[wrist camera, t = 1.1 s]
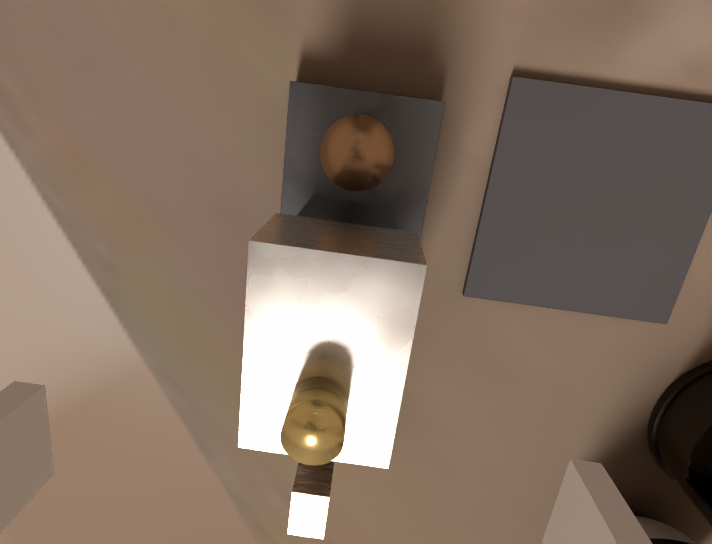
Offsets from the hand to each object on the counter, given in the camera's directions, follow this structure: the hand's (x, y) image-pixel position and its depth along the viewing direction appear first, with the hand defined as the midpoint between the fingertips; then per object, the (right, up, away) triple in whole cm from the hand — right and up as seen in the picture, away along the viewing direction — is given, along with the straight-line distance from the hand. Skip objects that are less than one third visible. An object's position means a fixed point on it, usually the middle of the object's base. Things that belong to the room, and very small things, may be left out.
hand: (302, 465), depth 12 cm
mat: (+13, +8, +12) cm, 19 cm away
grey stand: (+1, +4, +14) cm, 14 cm away
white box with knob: (+1, +3, +8) cm, 8 cm away
